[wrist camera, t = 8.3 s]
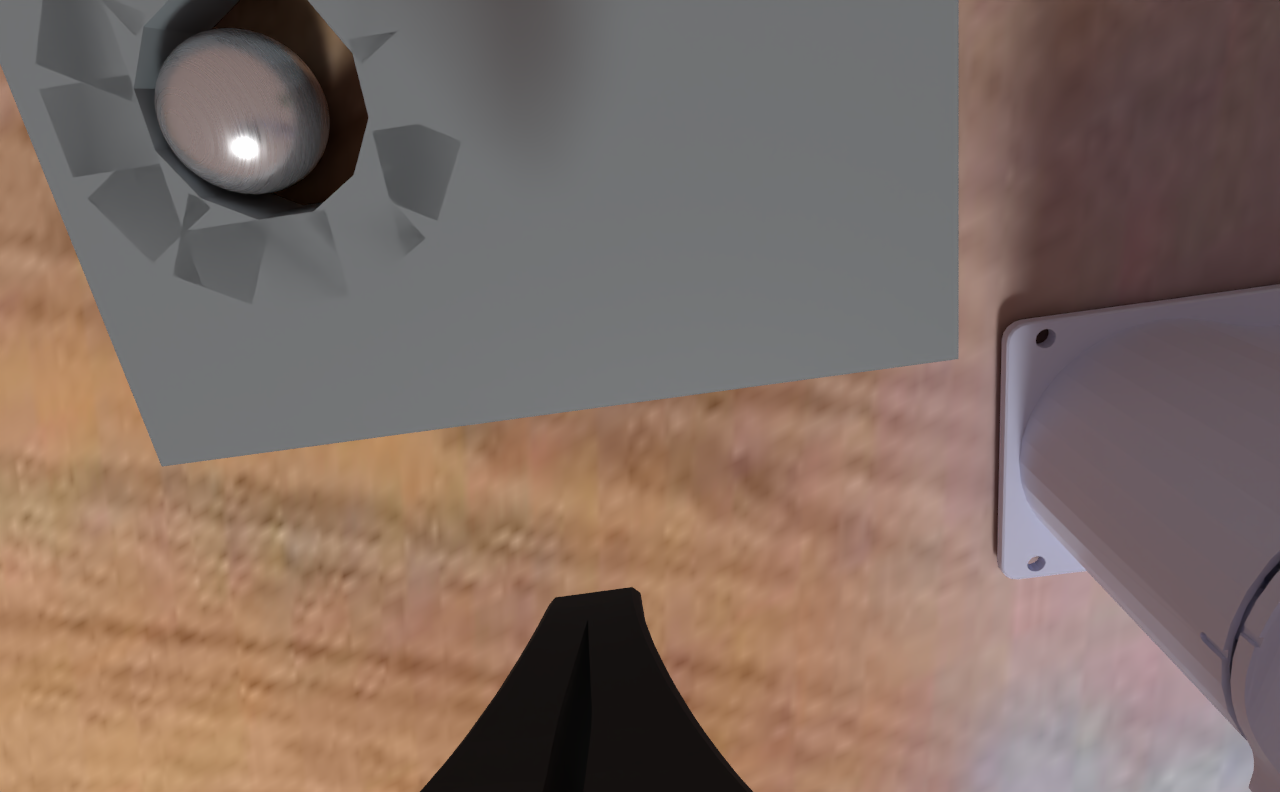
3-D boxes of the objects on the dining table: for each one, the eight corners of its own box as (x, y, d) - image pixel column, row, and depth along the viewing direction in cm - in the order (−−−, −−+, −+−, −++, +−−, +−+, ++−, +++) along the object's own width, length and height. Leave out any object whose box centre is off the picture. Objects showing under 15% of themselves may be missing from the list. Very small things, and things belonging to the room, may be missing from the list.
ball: (90, 39, 16) (232, 18, 19) (154, 206, 18) (276, 165, 21) (203, 40, 15) (340, 17, 17) (260, 221, 17) (377, 175, 19)
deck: (910, -439, 16) (958, -533, 13) (923, 329, 21) (958, 358, 19) (-43, -262, 17) (-154, -320, 14) (211, 427, 22) (161, 466, 20)
